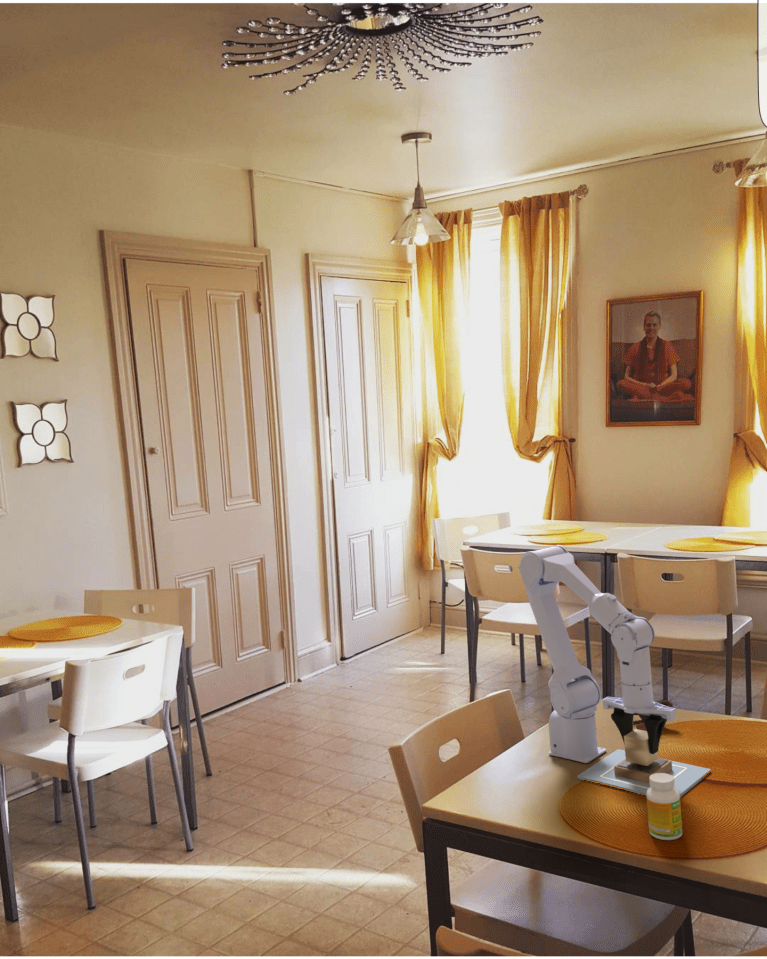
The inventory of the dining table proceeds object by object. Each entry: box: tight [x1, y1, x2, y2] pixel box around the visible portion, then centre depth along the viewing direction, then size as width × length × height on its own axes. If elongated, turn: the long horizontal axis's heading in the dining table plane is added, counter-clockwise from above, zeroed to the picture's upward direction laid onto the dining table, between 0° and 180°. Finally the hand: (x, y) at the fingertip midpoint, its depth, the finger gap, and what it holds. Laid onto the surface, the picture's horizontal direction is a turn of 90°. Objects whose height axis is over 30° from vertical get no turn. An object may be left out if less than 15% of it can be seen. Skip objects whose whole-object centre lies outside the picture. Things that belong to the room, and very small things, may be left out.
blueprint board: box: [576, 748, 712, 798], centre depth 170 cm, size 20×16×3 cm
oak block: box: [623, 728, 659, 766], centre depth 169 cm, size 4×4×5 cm
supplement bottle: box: [646, 773, 683, 841], centre depth 146 cm, size 5×5×10 cm
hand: (641, 749), depth 169 cm, fingers open, 5 cm apart
